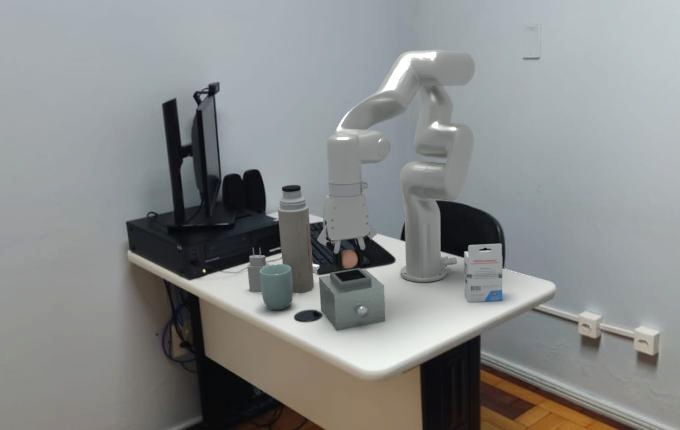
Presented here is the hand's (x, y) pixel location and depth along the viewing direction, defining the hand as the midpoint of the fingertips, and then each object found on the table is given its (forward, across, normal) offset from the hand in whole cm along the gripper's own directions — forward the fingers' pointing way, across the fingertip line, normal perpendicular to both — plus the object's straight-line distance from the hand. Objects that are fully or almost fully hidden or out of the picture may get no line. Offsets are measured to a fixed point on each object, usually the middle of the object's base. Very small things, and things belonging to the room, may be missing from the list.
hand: (348, 265), depth 144 cm
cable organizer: (+13, +2, -35) cm, 38 cm away
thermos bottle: (+13, +6, -23) cm, 27 cm away
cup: (+13, +14, -13) cm, 24 cm away
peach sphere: (+1, 0, 0) cm, 1 cm away
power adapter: (+13, +16, -26) cm, 34 cm away
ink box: (+13, -34, +4) cm, 36 cm away
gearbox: (+13, -1, 0) cm, 13 cm away
